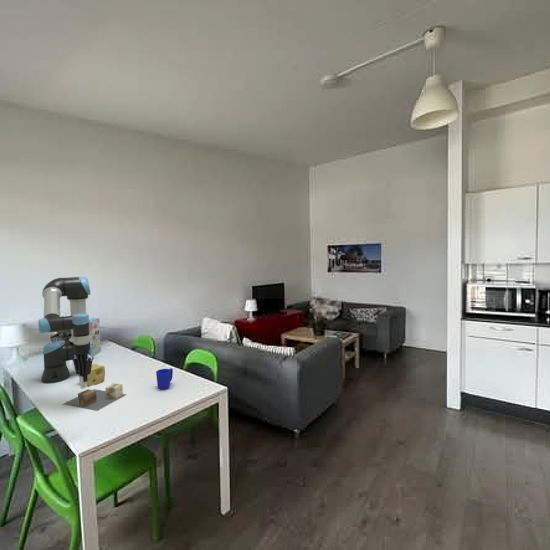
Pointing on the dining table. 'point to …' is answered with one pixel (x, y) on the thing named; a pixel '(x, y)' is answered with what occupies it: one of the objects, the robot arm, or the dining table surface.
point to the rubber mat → (96, 406)
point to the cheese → (96, 375)
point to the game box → (95, 335)
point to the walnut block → (87, 397)
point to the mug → (164, 378)
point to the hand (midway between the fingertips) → (83, 387)
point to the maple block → (114, 391)
